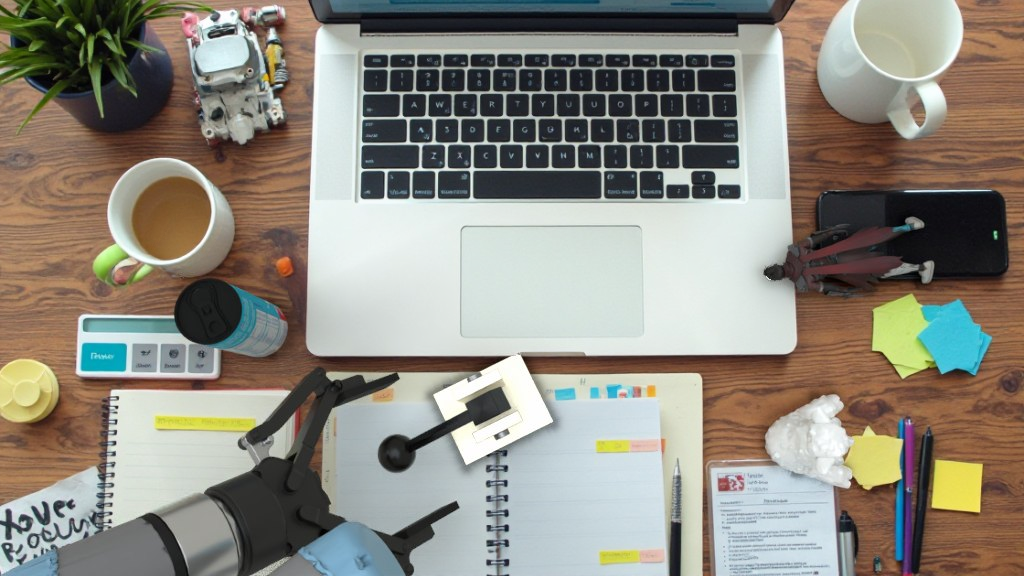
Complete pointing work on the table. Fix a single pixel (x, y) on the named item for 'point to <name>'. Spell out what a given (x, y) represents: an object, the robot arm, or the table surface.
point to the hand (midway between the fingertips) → (420, 442)
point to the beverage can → (229, 319)
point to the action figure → (846, 260)
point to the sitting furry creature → (812, 442)
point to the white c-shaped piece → (505, 427)
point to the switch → (440, 431)
